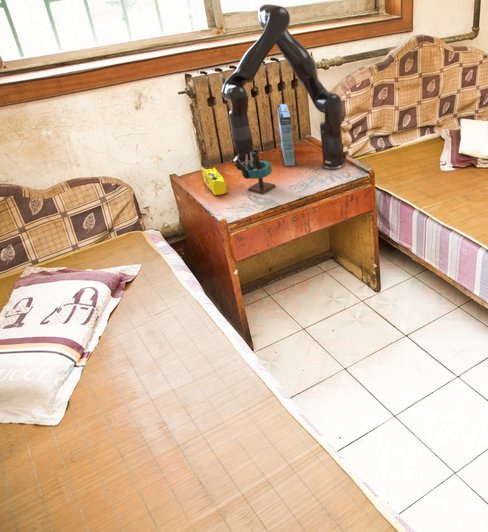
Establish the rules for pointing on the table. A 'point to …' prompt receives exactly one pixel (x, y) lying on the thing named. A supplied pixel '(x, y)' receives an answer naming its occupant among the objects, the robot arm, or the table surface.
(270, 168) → the teal ring
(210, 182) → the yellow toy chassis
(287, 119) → the gum box
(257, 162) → the brown peg stand
